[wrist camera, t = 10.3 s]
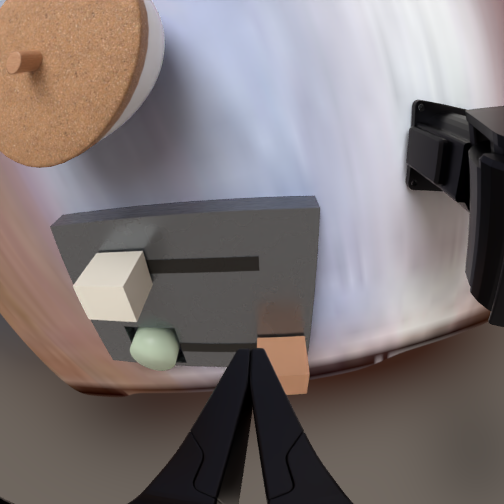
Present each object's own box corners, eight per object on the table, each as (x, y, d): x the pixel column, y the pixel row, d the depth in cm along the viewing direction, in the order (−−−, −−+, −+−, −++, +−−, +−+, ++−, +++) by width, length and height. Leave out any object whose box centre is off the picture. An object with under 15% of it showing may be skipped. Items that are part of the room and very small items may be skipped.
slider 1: (142, 250, 20) (122, 286, 17) (152, 284, 22) (137, 321, 18) (96, 253, 20) (72, 286, 17) (108, 284, 22) (89, 319, 19)
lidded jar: (69, -8, 11) (-21, -25, 3) (208, -4, 13) (165, -65, 5) (41, 124, 17) (-49, 165, 9) (163, 147, 18) (96, 204, 10)
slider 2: (304, 335, 24) (309, 374, 21) (302, 357, 26) (306, 393, 23) (257, 337, 25) (256, 376, 21) (258, 358, 26) (258, 395, 23)
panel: (314, 195, 20) (320, 208, 18) (304, 348, 29) (306, 364, 27) (62, 215, 21) (49, 226, 19) (118, 346, 30) (113, 360, 28)
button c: (176, 317, 26) (168, 342, 24) (186, 348, 28) (180, 371, 26) (132, 316, 26) (123, 339, 24) (146, 346, 29) (138, 368, 26)
